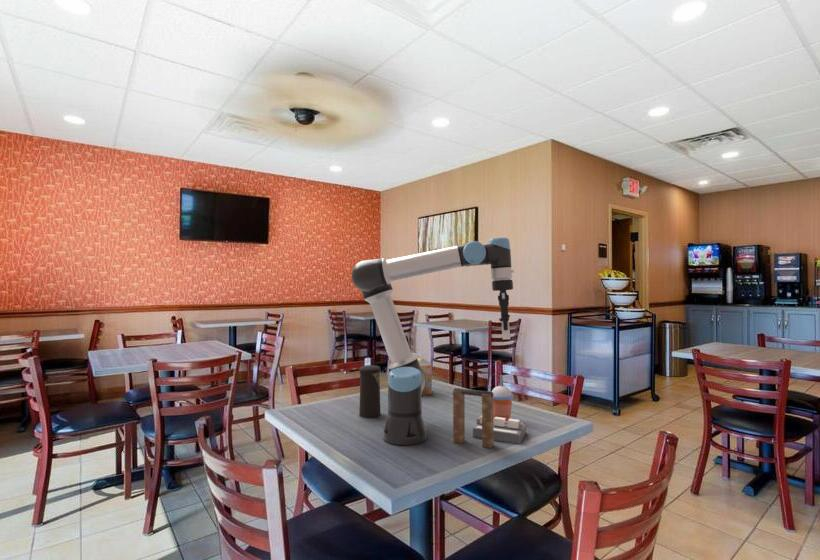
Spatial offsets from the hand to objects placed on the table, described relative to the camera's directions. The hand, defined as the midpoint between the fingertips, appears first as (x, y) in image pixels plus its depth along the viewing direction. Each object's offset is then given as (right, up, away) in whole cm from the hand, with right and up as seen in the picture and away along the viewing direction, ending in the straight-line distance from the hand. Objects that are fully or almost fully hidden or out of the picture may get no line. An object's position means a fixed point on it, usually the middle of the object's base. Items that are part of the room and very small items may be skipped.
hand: (506, 337), depth 159 cm
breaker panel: (-4, -34, -7) cm, 35 cm away
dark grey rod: (-14, -18, -15) cm, 27 cm away
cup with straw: (0, -34, +8) cm, 35 cm away
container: (-52, -34, +17) cm, 65 cm away
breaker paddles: (-4, -30, -7) cm, 31 cm away
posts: (-14, -34, -15) cm, 40 cm away
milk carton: (-32, -35, +54) cm, 72 cm away
